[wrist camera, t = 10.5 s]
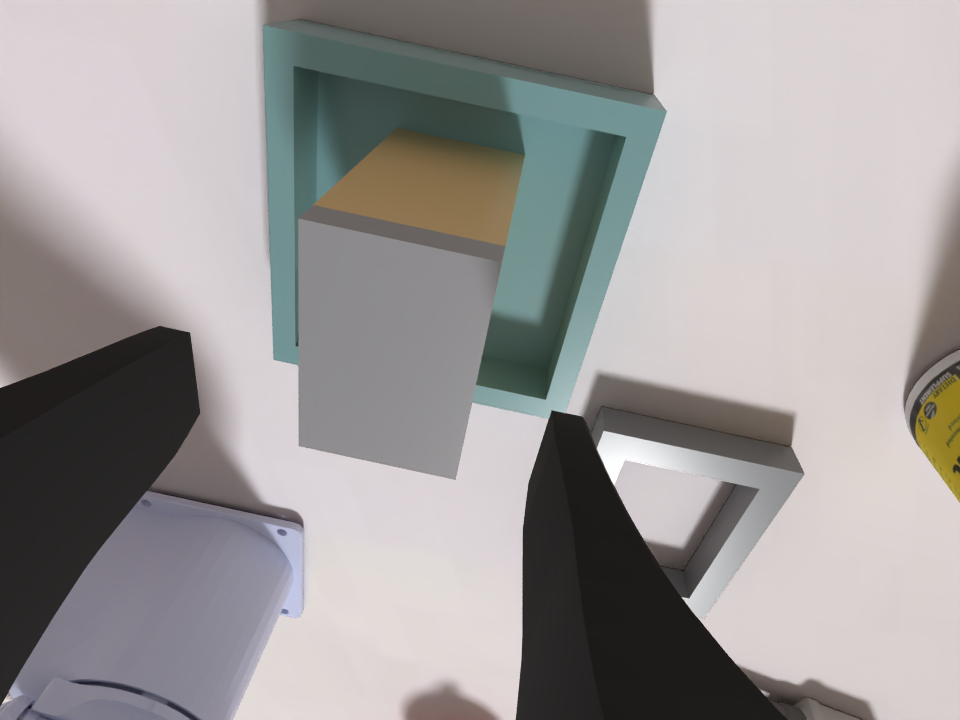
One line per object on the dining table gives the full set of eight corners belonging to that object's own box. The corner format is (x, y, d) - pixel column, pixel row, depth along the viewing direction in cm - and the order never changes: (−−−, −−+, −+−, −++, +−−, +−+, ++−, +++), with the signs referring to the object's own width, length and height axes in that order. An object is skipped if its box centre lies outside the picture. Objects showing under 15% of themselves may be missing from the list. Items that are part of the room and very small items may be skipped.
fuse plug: (382, 298, 21) (298, 445, 15) (397, 127, 18) (298, 218, 11) (489, 321, 21) (455, 479, 15) (525, 155, 18) (501, 262, 11)
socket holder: (544, 557, 29) (543, 584, 28) (601, 406, 23) (603, 431, 22) (698, 590, 29) (704, 618, 28) (791, 447, 23) (804, 474, 22)
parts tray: (299, 324, 23) (273, 359, 21) (299, 19, 17) (262, 25, 15) (562, 381, 23) (562, 421, 21) (654, 94, 17) (667, 111, 15)
